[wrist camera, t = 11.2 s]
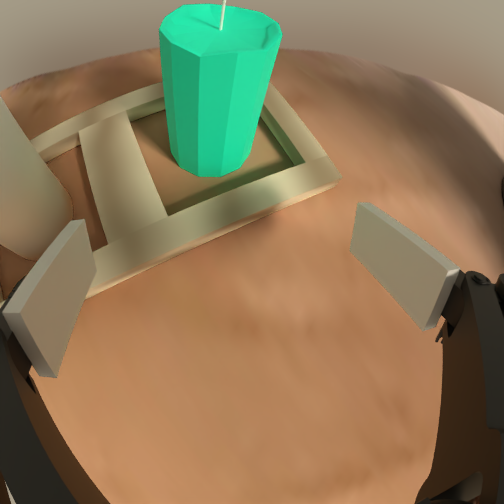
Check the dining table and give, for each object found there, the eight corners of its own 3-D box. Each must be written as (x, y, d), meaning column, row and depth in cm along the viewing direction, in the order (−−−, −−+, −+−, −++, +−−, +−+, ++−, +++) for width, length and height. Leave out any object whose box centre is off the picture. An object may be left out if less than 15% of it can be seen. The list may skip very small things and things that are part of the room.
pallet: (248, 72, 23) (251, 60, 22) (334, 186, 21) (342, 177, 19) (-23, 191, 16) (-32, 183, 15) (-3, 344, 13) (-15, 344, 12)
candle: (154, 144, 20) (133, 1, 8) (212, 105, 21) (226, -25, 10) (209, 193, 19) (221, 36, 8) (266, 146, 21) (315, 10, 10)
